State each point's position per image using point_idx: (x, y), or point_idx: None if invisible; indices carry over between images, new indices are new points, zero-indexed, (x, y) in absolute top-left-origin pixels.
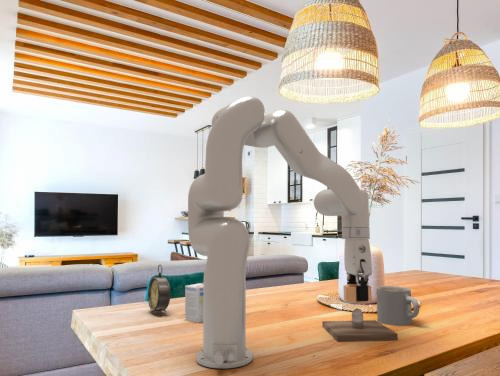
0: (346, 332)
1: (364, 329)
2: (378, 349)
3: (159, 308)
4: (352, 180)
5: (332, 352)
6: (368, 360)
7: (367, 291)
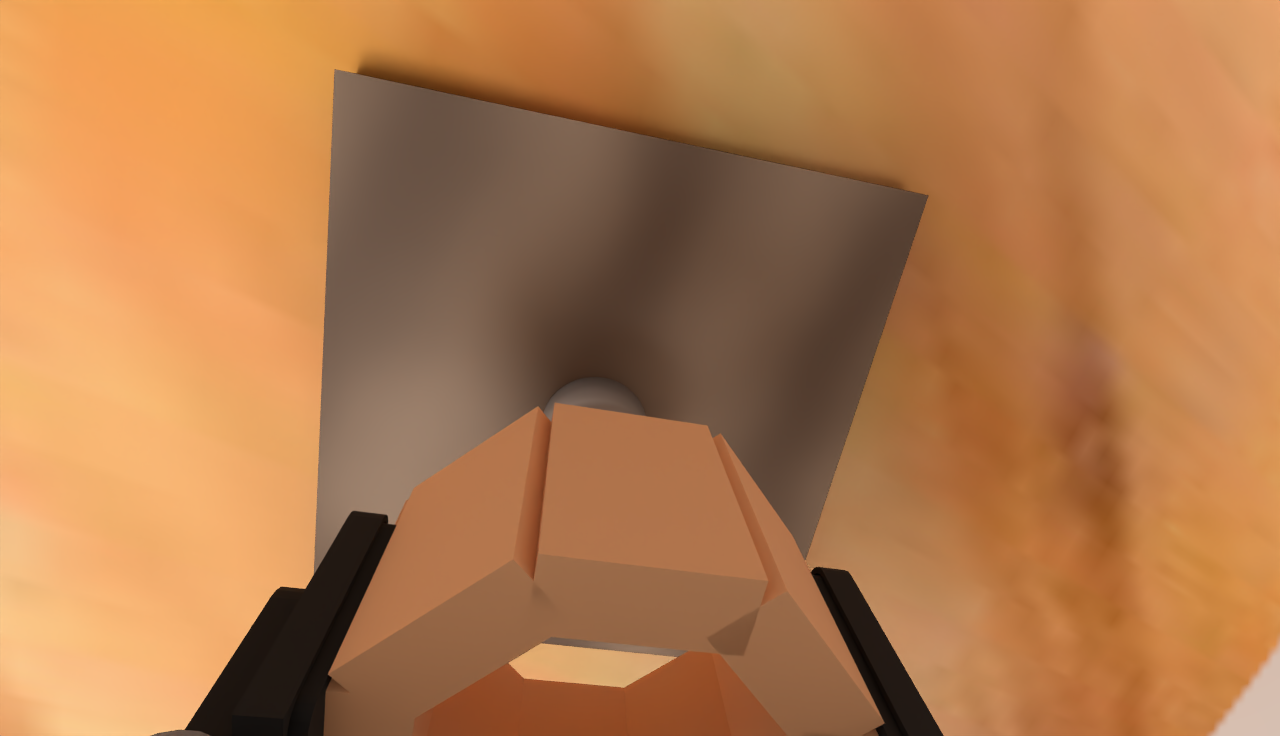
0: None
1: (683, 406)
2: (1019, 469)
3: None
4: None
5: None
6: (1140, 615)
7: (901, 685)
